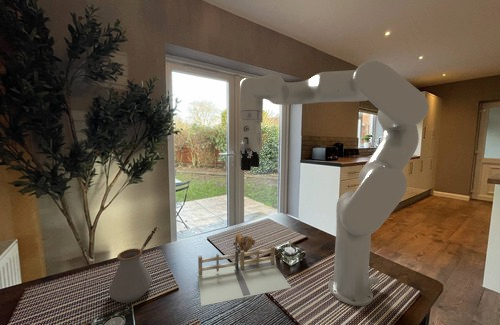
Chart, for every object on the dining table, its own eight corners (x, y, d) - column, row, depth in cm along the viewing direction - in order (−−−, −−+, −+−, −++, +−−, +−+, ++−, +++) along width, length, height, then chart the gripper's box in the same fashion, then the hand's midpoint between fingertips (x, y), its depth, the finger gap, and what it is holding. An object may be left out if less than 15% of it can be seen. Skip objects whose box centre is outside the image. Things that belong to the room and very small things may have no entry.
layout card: (270, 259, 85) (270, 257, 85) (291, 288, 68) (291, 287, 68) (197, 270, 77) (197, 268, 77) (201, 307, 60) (201, 305, 60)
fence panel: (238, 267, 78) (238, 250, 77) (238, 268, 77) (238, 251, 76) (198, 273, 74) (198, 255, 74) (198, 275, 73) (198, 257, 72)
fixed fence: (273, 262, 82) (273, 246, 81) (274, 264, 81) (274, 247, 80) (239, 268, 78) (239, 250, 78) (240, 269, 77) (240, 252, 77)
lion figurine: (256, 258, 86) (257, 236, 85) (245, 262, 83) (245, 239, 82) (238, 243, 98) (238, 224, 97) (227, 246, 95) (227, 226, 95)
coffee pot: (137, 310, 59) (135, 258, 58) (99, 306, 61) (95, 255, 59) (173, 265, 80) (172, 227, 79) (144, 263, 82) (142, 225, 80)
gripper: (254, 114, 62) (253, 172, 64) (268, 119, 79) (267, 166, 81) (230, 115, 65) (230, 171, 67) (248, 120, 81) (248, 165, 83)
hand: (250, 168), depth 74 cm, fingers open, 9 cm apart
